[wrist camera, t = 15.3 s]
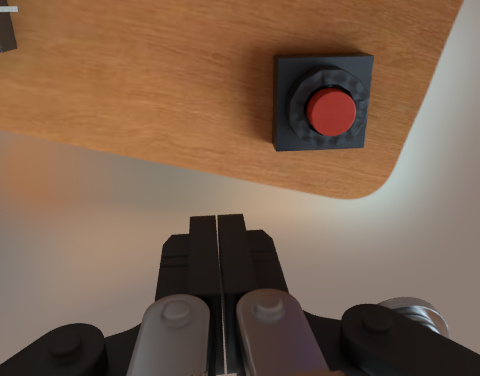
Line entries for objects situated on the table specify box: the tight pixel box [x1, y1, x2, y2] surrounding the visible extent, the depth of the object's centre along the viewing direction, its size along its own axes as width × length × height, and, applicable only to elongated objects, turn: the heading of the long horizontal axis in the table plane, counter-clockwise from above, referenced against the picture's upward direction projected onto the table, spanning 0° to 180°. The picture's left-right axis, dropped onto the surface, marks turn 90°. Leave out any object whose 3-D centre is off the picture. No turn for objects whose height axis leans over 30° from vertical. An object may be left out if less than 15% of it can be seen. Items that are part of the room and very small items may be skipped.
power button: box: [307, 87, 356, 136], centre depth 34 cm, size 4×4×2 cm
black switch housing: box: [272, 53, 374, 152], centre depth 37 cm, size 8×8×4 cm
